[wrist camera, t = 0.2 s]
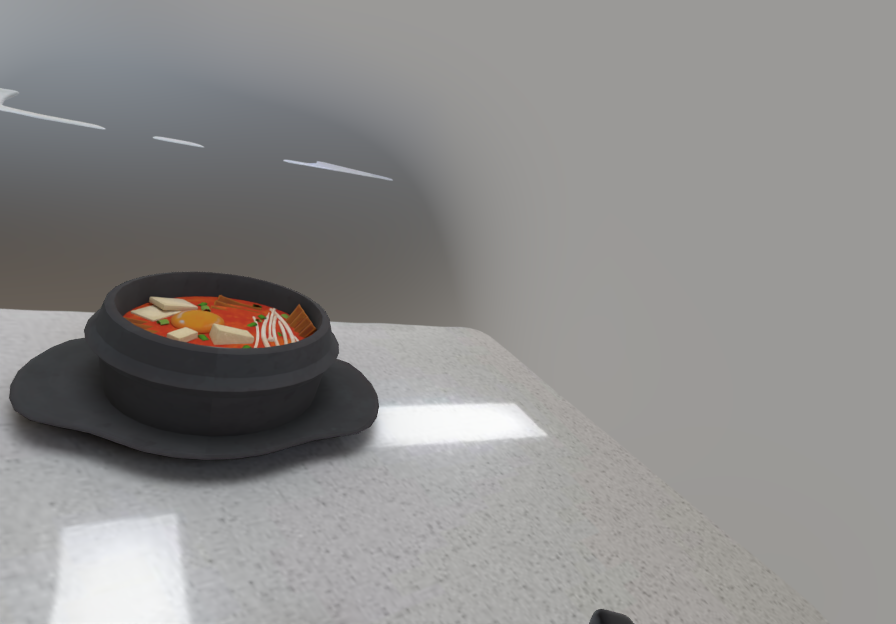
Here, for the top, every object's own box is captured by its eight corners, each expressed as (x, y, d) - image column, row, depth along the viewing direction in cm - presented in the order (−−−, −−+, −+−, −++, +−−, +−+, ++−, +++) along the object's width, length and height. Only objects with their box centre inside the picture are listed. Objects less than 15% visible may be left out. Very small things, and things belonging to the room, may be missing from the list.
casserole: (357, 363, 55) (373, 285, 53) (395, 486, 39) (421, 381, 36) (61, 338, 47) (63, 242, 44) (-49, 484, 30) (-57, 344, 28)
